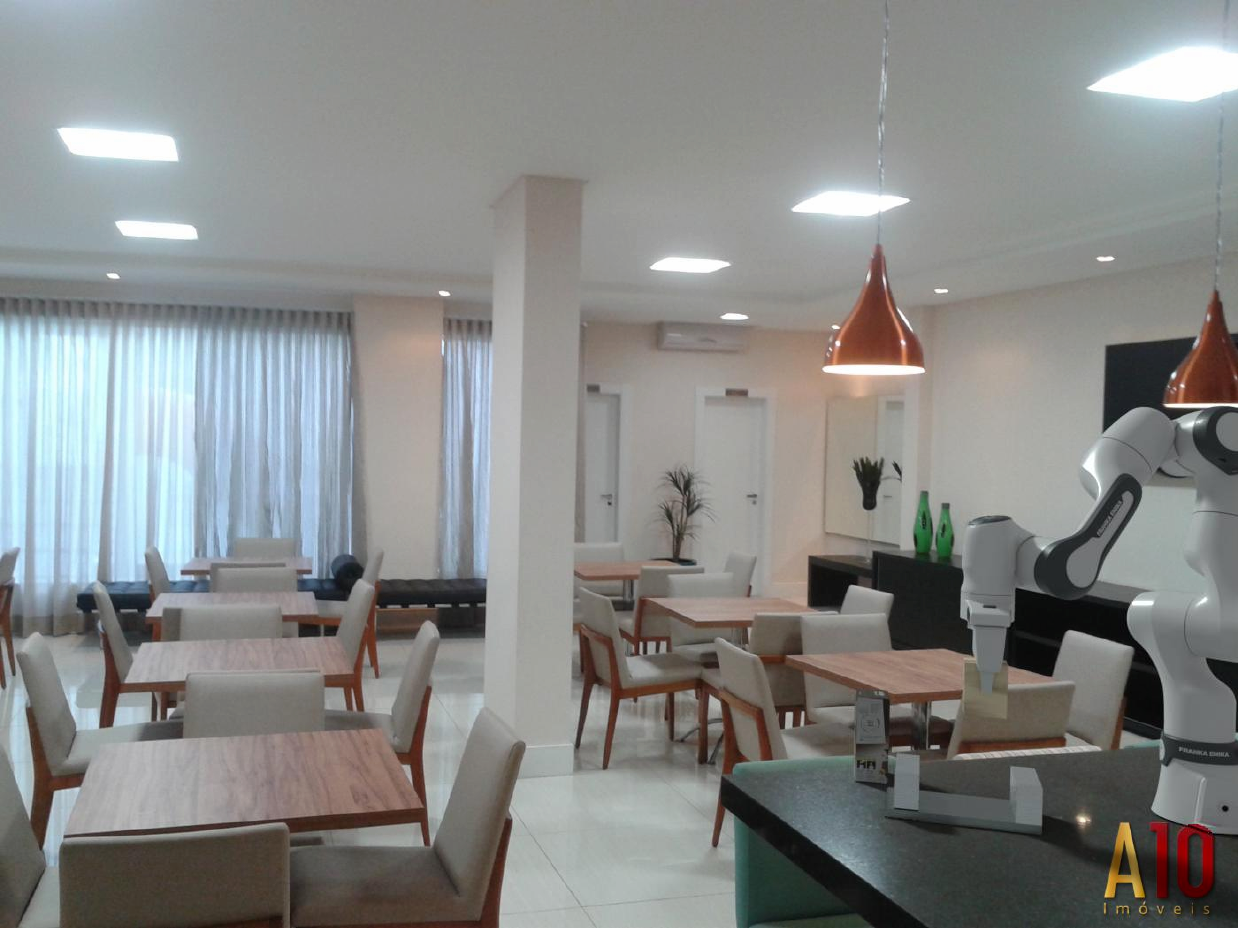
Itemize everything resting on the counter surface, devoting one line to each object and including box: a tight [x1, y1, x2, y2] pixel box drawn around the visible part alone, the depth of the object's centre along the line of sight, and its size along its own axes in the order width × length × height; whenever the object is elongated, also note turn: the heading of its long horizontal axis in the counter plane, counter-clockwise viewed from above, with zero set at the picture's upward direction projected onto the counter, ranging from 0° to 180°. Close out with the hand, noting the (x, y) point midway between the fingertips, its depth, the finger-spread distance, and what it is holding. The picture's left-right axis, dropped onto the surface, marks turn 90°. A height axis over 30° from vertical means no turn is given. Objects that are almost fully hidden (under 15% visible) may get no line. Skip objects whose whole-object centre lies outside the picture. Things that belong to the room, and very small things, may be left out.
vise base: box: [884, 765, 1044, 836], centre depth 184 cm, size 25×13×8 cm, turn 74°
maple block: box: [962, 657, 1009, 720], centre depth 183 cm, size 5×7×9 cm
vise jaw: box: [893, 752, 921, 810], centre depth 186 cm, size 4×13×6 cm, turn 164°
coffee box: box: [853, 688, 891, 785], centre depth 205 cm, size 9×6×16 cm
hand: (985, 689), depth 183 cm, fingers closed on maple block, 5 cm apart
